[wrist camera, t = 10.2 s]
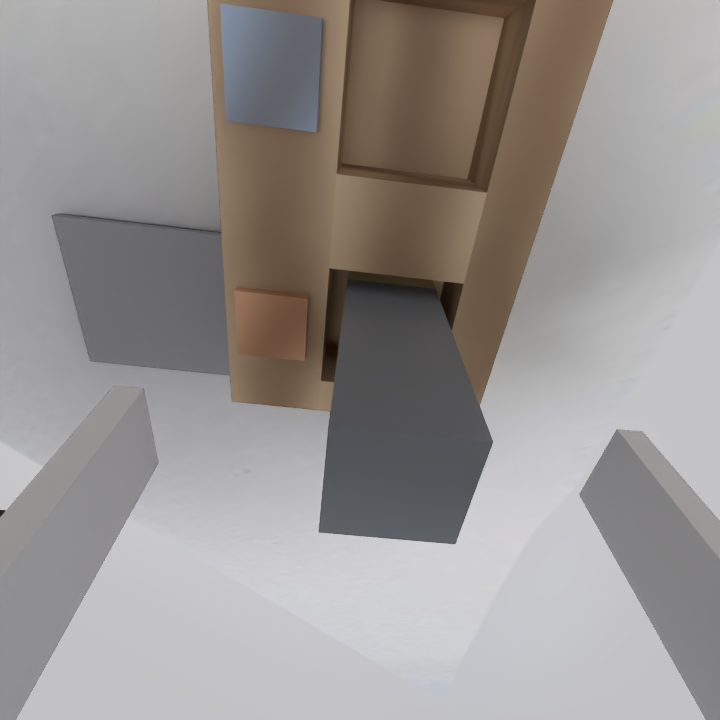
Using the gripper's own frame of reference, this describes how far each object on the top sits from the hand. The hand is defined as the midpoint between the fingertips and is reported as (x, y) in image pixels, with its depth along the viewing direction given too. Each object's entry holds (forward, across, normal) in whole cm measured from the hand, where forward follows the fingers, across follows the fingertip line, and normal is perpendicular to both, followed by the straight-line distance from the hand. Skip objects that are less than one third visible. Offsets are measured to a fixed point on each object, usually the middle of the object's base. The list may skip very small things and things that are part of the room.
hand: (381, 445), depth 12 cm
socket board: (+11, 0, +4) cm, 12 cm away
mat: (+11, -11, -2) cm, 16 cm away
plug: (+11, +1, 0) cm, 11 cm away
